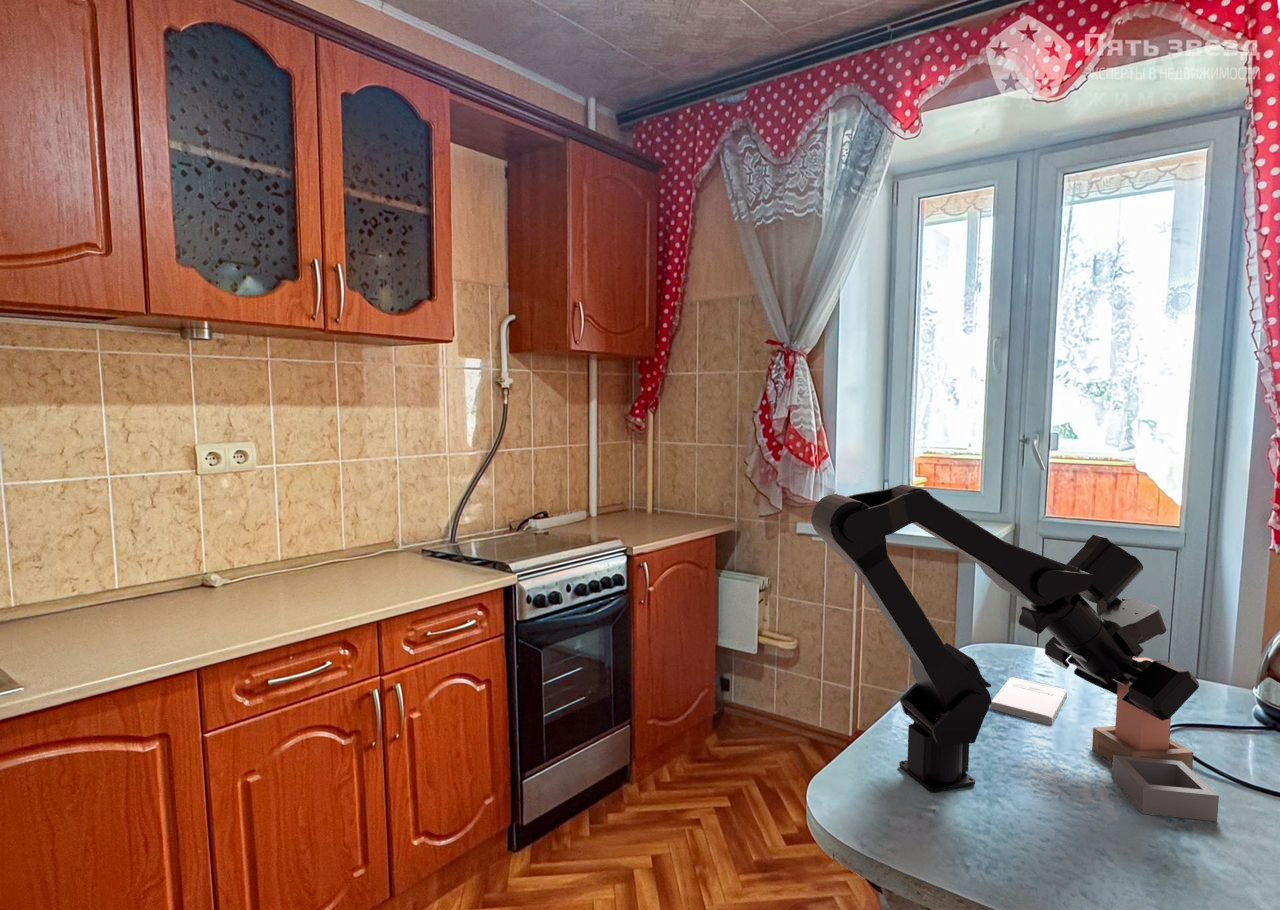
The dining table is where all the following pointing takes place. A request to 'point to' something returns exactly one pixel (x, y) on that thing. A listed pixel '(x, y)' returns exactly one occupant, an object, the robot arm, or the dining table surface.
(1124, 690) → the peg
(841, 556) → the robot arm
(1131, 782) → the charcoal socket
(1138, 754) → the walnut socket
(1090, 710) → the dining table surface
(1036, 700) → the external hard drive
